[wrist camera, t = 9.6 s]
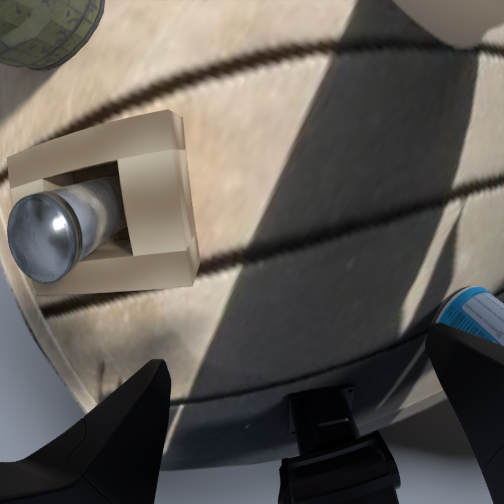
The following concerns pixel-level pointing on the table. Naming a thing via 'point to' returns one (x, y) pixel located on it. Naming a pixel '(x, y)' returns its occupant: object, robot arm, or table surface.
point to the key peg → (64, 226)
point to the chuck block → (134, 198)
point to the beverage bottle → (475, 314)
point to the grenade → (45, 30)
